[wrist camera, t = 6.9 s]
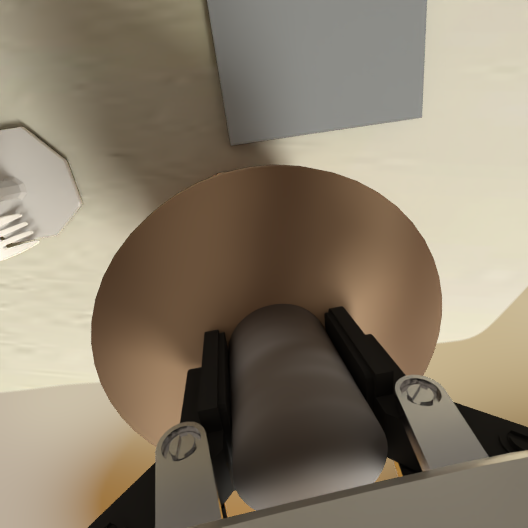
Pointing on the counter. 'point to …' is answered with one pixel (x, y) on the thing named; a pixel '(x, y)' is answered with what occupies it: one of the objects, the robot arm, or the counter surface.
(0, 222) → the fork
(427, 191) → the counter surface
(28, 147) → the wineglass
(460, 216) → the counter surface
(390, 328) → the lid
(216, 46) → the mat
